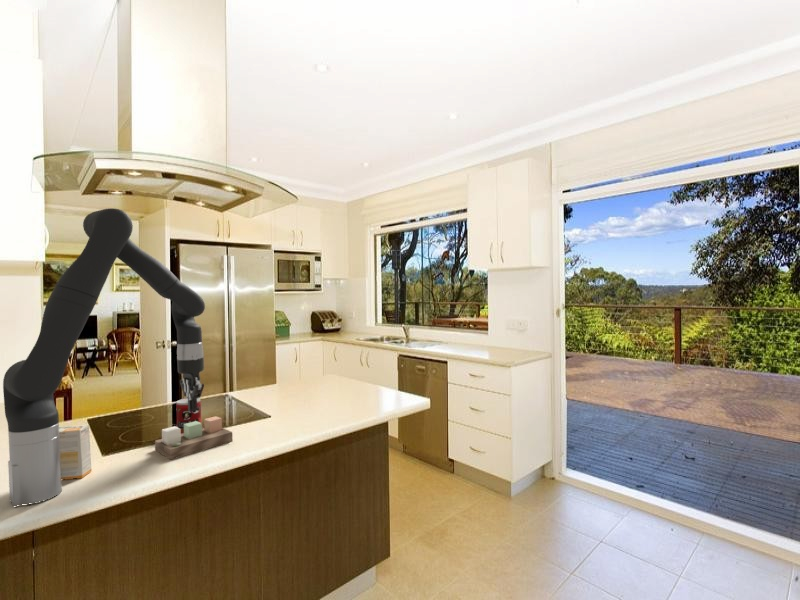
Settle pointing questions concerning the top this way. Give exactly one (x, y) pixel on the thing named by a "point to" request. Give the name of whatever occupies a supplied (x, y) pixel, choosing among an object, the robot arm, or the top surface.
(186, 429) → the sage green button
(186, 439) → the button box
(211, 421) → the pink cube
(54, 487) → the robot arm
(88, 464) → the supplement box
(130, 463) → the top surface
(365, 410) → the top surface
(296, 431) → the top surface
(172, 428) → the off-white button
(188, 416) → the canned food
